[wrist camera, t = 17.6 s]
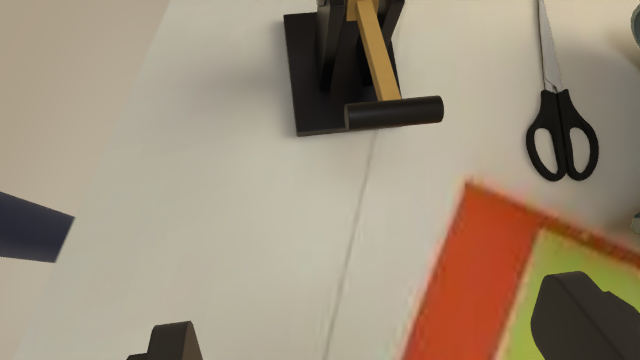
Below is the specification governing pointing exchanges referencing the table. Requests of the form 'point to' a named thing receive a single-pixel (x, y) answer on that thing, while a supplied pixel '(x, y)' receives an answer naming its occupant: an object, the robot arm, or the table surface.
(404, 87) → the table surface
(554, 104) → the scissors
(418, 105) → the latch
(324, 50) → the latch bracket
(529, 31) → the table surface
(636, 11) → the grey curved shell
